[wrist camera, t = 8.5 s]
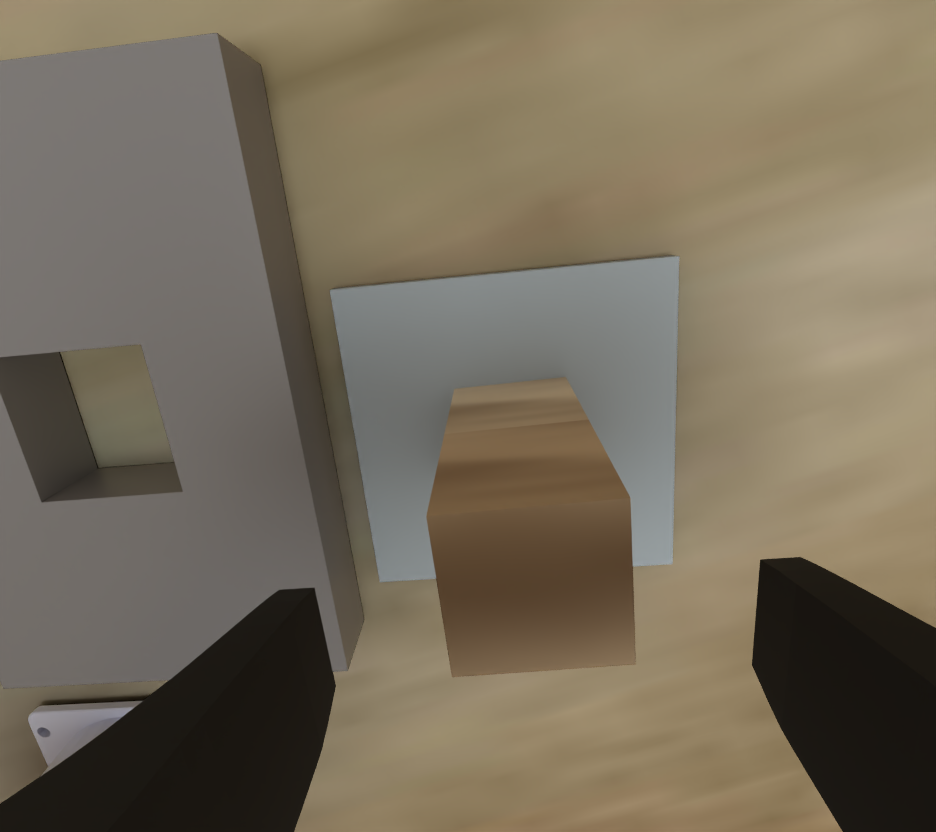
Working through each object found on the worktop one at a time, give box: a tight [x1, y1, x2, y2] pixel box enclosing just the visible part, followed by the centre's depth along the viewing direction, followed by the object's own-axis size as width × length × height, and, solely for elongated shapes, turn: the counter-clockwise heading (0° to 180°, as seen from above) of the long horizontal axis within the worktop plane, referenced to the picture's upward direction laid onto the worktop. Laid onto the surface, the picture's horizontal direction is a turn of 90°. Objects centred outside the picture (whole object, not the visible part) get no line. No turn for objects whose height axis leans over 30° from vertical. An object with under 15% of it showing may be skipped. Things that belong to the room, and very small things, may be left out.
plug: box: [426, 377, 636, 677], centre depth 13 cm, size 3×3×8 cm
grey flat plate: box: [0, 33, 364, 689], centre depth 17 cm, size 18×12×2 cm, turn 6°
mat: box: [330, 255, 679, 582], centre depth 18 cm, size 10×10×1 cm
